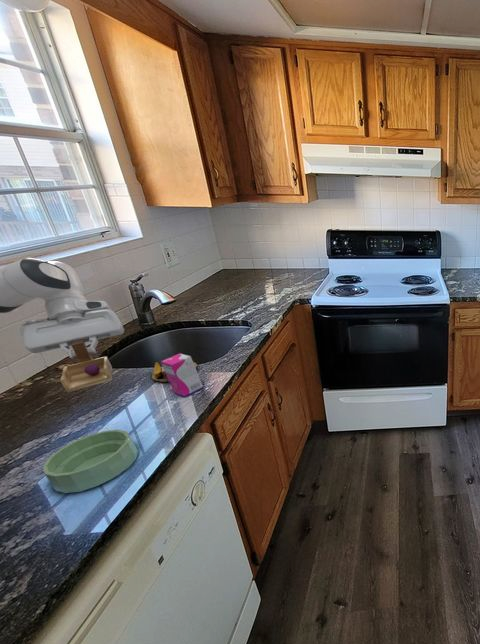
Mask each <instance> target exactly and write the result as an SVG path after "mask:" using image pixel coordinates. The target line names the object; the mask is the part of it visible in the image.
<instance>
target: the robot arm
mask: <svg viewBox="0 0 480 644" xmlns="http://www.w3.org/2000/svg"><path fill="white" fill-rule="evenodd" d="M38 298H39V299H42V300H44V308H45V311H46V315H47V317H45V318H39V319H35V320H28V321H25V322H24V323H23V324H21V325H20V326H19V332H20V335H21V336H22V337H23V338H22V339H23V346H24V348H25V349H26V350H27V351H28V352H31V353H32V354H39V353H44V352H49V351H53V350H57V349H61V350H63V352H66V353H67V355H68V357H69V359H71V360H74V359H78V357H77V355H76V354H75V352H74V350H73V349H72V350H70V349H71V347H72V346H71V345H72V342H77V341H82V340H84V342H85V343H89V342H90V345H89V346H87V347H86V348H87V350H88V353H89V354H90V355H91V356H92V355H95V354H97V351H96V348H97V346H98V345H99V340H102V339H106V338H111V337H115V336H120V335H123V334H124V332H125V328H124V326H123V324H122V321H121V320H120V319H119V317H118V316H117V314H116V313H115V312H114V311H113V310H112V308H111V306H110V305H109V304H108V302H106V301H105V300H88V299H87V298H86V297H85V288H84V286H83V283H82V281H81V279H80V277H79V275H78V274H77V272H76V270H75V269H74V268H73V267H72V266H71V265H69V264H67V263H65V262H61V261H54V260H53V261H51V260H50V261H46V260H42V259H39V258H34V257H25V258H22V259H18V260H16V261H13V262H12V263H9V264H6V265H5V266H3V267H1V268H0V314H7V313H10V312H13V311H15V310H16V309H19V308H20V307H22V306H23V305H24V304H27V303H29V302H31V301H34V300H36V299H38Z"/></svg>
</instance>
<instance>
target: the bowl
mask: <svg viewBox="0 0 480 644" xmlns="http://www.w3.org/2000/svg"><path fill="white" fill-rule="evenodd" d="M138 453H139V450H138V448H137V447H136V444H135V442H134V441H133V438H132V437H131V435H130V434H129V432H128V431H127V430H122V429H109V430H102V431H99V432H95V433H92V434H88V435H86V436H83V437H81V438H79V439H76V440H74V441H72V442H70V443H68V444H66V445H65V446H62V447H61V448H59V449H58V450H57V451H55V452H54V453H52V455H50V456H49V457H48V458H47V459H46V460H45V462H44V464H43V466H42V472H43V473H44V475H45V477H46V478H47V480H48V482H49V483H50V484H51V486H52V488H53V489H54V490H55V491H56V492H60V493H62V494H63V493H64V494H69V493H79V492H83V491H86V490H89V489H93V488H95V487H98V486H100V485H102V484H105V483H106V482H109V481H110V480H112V479H115V478H116V477H117V476H119V475H120V474H122V473H123V472H125V471H126V470H127V469H129V468H130V467H131V465H132V464H133V463H135V461H136V460H137V457H138Z"/></svg>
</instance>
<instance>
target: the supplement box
mask: <svg viewBox="0 0 480 644" xmlns="http://www.w3.org/2000/svg"><path fill="white" fill-rule="evenodd" d="M193 362H194V361H193V358H192V356H191V355H187V354H183V353H177V354H175V355H172V356H171V357H168V358H166V359H163V360H161V361H160V364H161V367H163V368H164V371H165V373H166V375H167V377H168V380H169V384H170V386H171V389H172V391H173V393H174V394H175V395H177V396H180V397H183V398H187V397H190V396H191V395H194V394H195V393H197V392H199V391H201V390H203V389H204V385H203V383H202V380H201V377H200V376H199V373H198V371H197V367H196V368H195V366H194V363H195V362H194V363H193Z"/></svg>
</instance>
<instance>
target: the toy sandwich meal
mask: <svg viewBox="0 0 480 644" xmlns="http://www.w3.org/2000/svg"><path fill="white" fill-rule="evenodd" d="M193 363H194V366H195V368H196V369H197V367H198V365H197V363H196V362H194V361H193ZM153 370H154V371H153V372H154V373H152V375H151V379H152V380H154V381H158V382H160V383H168V382H169V380H168V377H167V375H166V373H165V371H164V368H163V366H161V365H160V364H159V362H155V364H154V369H153ZM169 383H170V382H169Z"/></svg>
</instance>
